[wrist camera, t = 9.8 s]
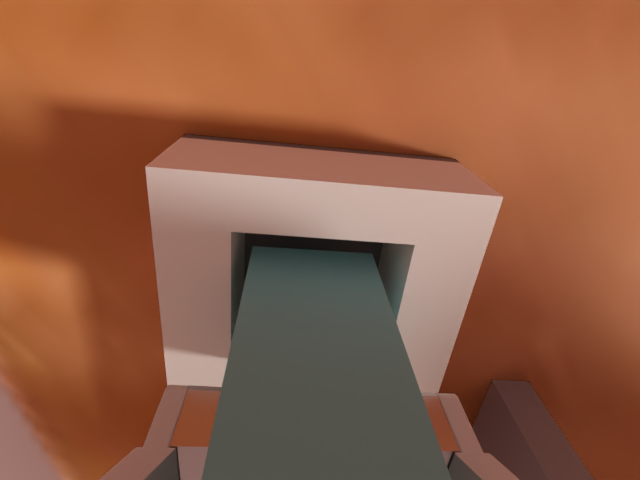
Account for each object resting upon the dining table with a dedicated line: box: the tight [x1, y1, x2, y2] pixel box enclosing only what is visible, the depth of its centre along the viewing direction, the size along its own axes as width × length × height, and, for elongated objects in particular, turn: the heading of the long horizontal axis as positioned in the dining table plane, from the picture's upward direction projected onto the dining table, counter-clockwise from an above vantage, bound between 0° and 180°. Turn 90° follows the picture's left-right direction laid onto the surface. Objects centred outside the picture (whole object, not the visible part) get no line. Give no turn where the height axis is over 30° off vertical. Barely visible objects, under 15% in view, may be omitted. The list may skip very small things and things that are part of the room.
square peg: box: [201, 246, 451, 480], centre depth 10 cm, size 4×4×10 cm
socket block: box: [145, 134, 503, 393], centre depth 17 cm, size 10×18×4 cm, turn 174°
